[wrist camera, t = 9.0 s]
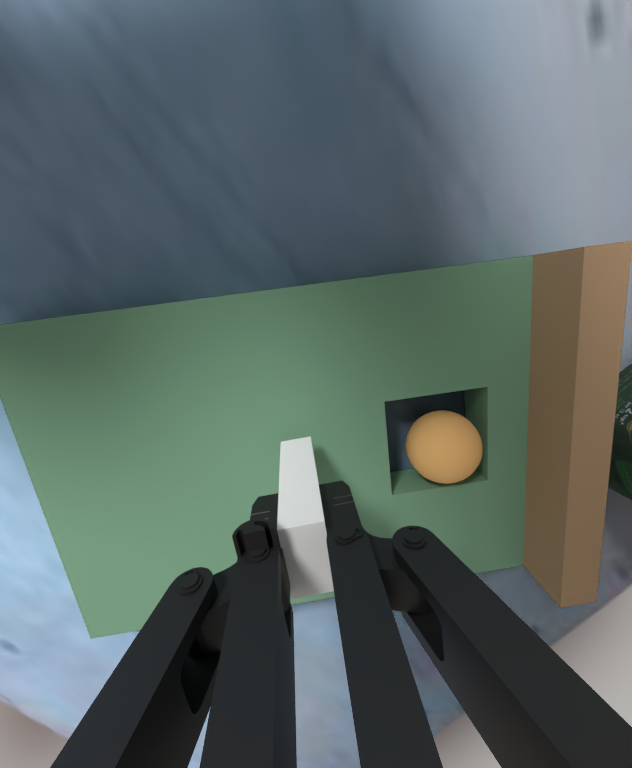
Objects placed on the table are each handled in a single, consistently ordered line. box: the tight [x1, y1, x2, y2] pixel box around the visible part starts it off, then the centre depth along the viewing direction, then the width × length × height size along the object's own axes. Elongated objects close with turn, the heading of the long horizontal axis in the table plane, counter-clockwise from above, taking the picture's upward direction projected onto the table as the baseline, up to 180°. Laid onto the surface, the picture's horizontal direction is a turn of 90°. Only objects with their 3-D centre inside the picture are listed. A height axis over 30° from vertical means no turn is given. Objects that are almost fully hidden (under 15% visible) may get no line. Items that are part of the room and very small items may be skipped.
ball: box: [406, 410, 483, 484], centre depth 19 cm, size 4×4×4 cm
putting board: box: [0, 241, 632, 638], centre depth 18 cm, size 28×18×6 cm, turn 98°
